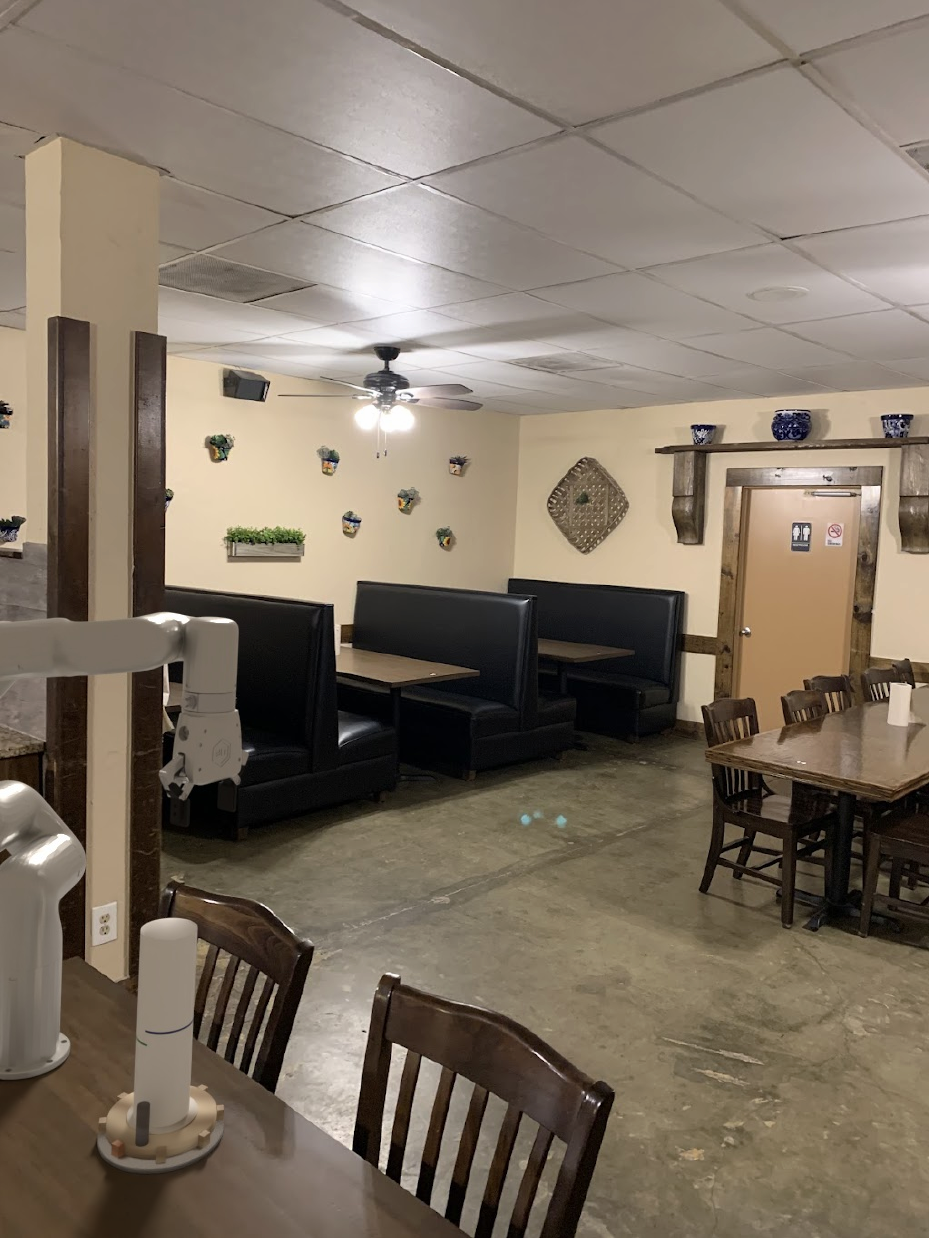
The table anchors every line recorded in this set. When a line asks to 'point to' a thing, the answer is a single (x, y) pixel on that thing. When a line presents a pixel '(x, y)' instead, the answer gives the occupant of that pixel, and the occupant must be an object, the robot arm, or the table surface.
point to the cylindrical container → (165, 1019)
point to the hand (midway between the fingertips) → (203, 817)
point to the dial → (160, 1140)
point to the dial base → (150, 1164)
